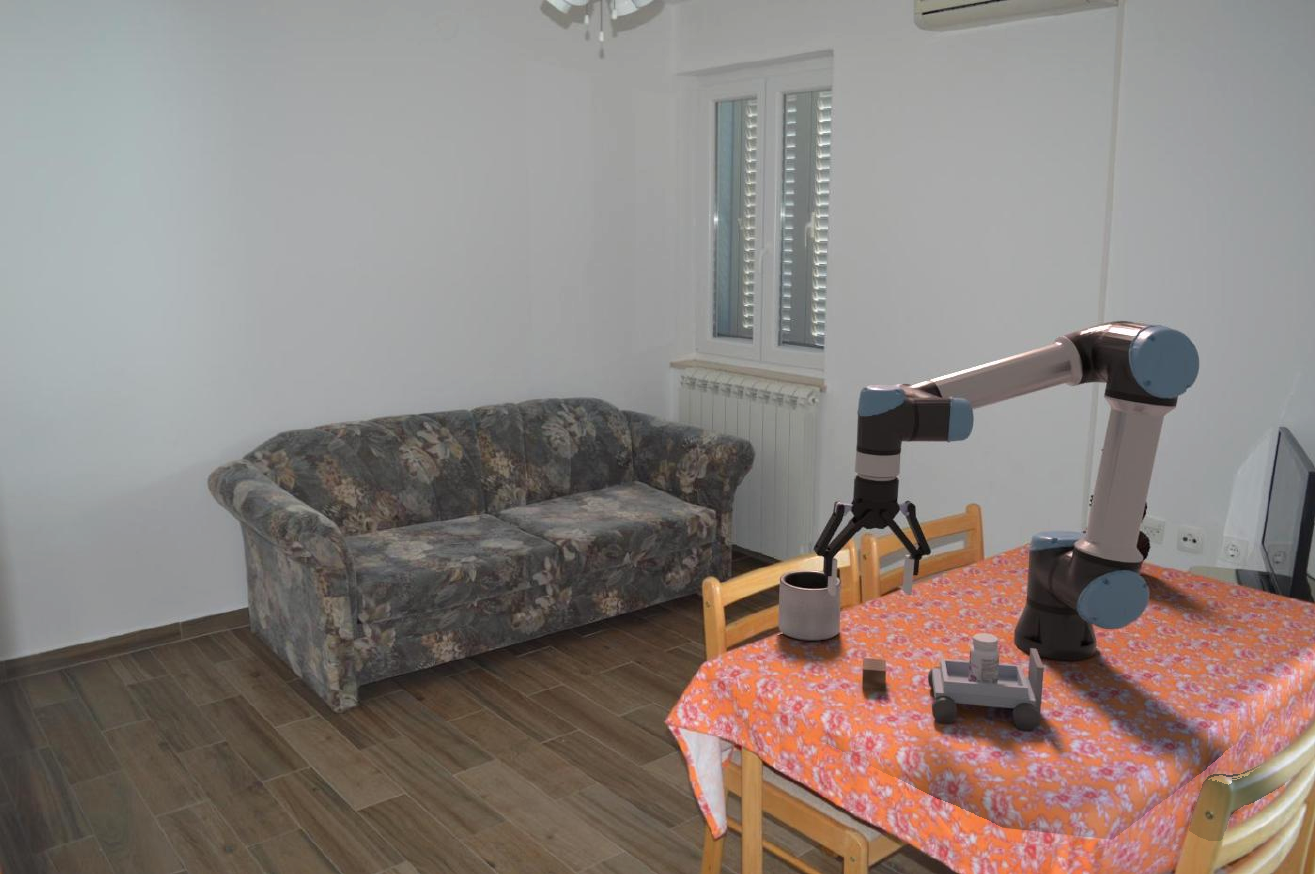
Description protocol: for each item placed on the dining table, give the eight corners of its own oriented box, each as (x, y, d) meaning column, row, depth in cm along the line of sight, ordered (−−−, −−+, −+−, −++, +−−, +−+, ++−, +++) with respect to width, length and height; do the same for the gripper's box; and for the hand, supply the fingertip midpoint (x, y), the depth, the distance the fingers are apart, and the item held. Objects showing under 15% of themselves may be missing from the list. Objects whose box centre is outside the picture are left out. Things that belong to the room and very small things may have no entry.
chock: (884, 680, 186) (885, 659, 185) (885, 691, 181) (885, 670, 181) (862, 678, 187) (863, 657, 186) (862, 689, 182) (862, 669, 181)
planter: (825, 648, 200) (827, 594, 198) (767, 635, 207) (768, 582, 205) (849, 627, 211) (851, 576, 209) (793, 615, 217) (794, 565, 215)
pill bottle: (963, 678, 176) (966, 632, 174) (990, 677, 176) (993, 631, 175) (974, 690, 171) (977, 643, 170) (1001, 689, 172) (1005, 642, 170)
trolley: (1029, 695, 180) (1033, 641, 178) (1042, 732, 166) (1046, 675, 164) (927, 686, 183) (930, 634, 181) (931, 722, 170) (934, 666, 168)
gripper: (939, 470, 180) (931, 584, 184) (800, 470, 177) (795, 586, 182) (955, 480, 172) (946, 599, 176) (810, 480, 170) (804, 601, 174)
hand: (869, 593), depth 179 cm, fingers open, 13 cm apart
